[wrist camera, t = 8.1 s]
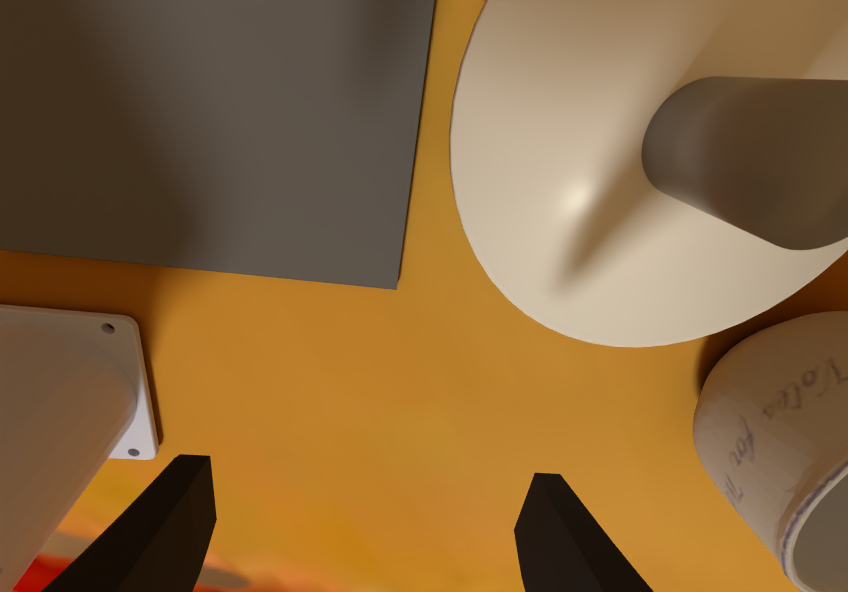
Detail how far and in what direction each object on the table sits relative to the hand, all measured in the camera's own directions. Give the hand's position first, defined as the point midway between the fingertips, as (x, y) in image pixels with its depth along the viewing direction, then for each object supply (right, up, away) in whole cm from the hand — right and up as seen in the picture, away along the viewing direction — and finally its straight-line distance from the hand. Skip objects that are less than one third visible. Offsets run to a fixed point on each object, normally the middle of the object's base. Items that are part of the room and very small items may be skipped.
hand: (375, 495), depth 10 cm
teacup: (+19, -1, +13) cm, 23 cm away
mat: (-6, +12, +4) cm, 15 cm away
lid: (+8, +9, +2) cm, 12 cm away
